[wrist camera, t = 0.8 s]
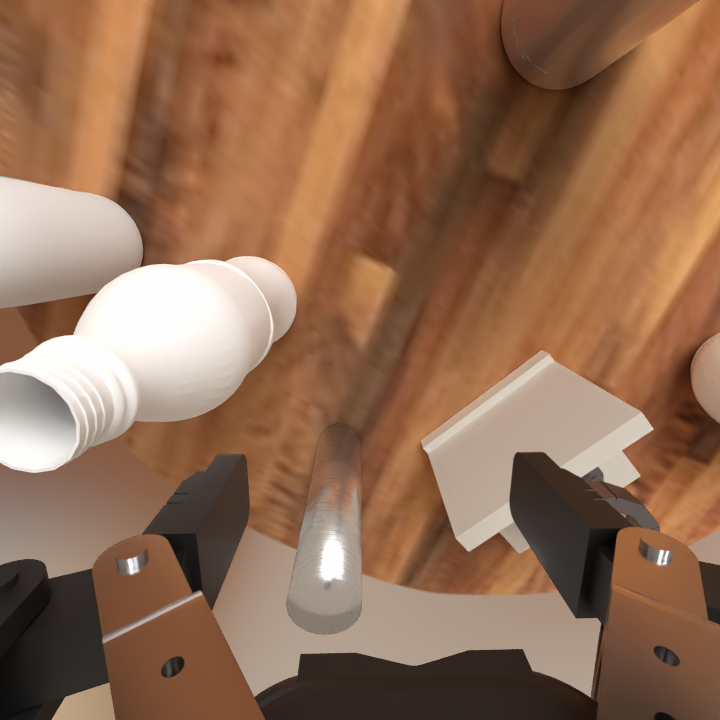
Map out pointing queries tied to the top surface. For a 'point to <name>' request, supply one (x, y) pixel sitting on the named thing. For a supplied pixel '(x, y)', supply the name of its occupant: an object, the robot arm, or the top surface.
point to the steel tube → (330, 539)
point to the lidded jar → (707, 376)
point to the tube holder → (527, 443)
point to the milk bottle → (61, 243)
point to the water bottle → (143, 357)
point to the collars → (621, 500)
